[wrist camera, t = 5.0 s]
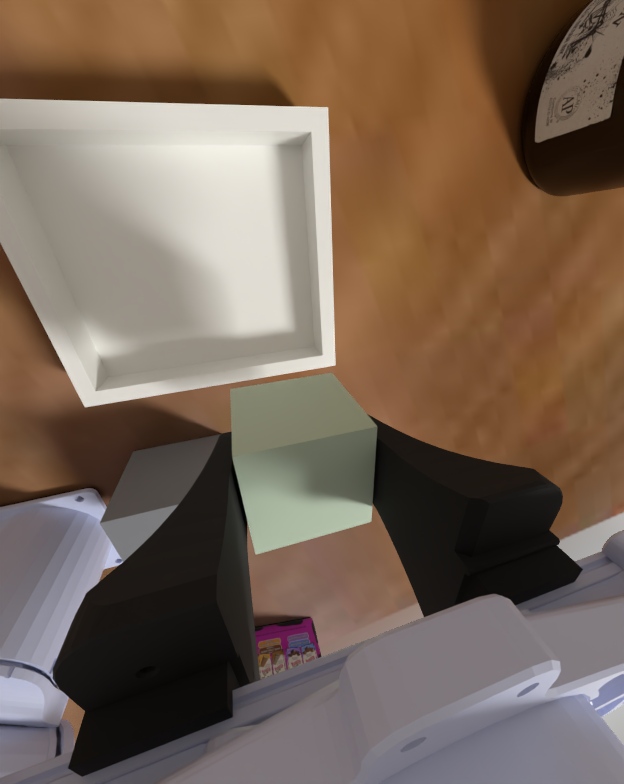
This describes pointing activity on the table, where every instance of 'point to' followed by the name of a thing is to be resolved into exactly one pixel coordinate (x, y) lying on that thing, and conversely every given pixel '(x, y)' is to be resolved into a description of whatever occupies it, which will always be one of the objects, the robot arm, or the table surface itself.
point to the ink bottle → (579, 105)
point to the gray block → (152, 490)
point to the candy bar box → (286, 646)
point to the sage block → (302, 459)
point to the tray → (171, 240)
